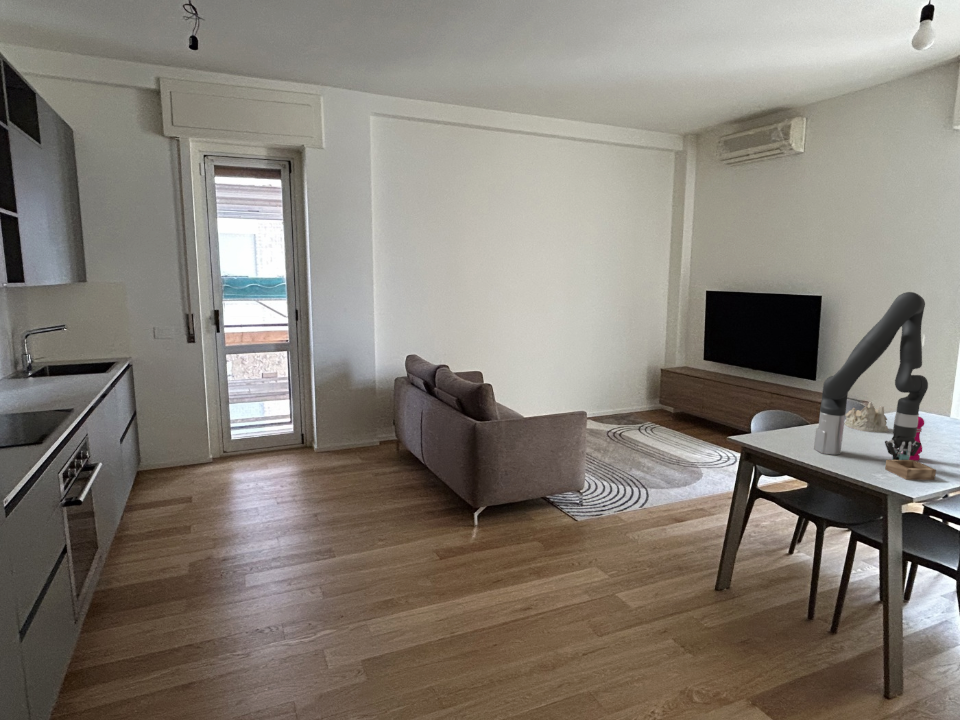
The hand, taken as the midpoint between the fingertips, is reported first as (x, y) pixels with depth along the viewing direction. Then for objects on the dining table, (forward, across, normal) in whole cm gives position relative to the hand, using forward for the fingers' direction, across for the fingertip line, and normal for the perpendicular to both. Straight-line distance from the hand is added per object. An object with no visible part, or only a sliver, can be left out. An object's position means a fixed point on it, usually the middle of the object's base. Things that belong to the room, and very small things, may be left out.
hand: (899, 465), depth 229 cm
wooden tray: (+1, -3, -9) cm, 10 cm away
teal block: (+1, 0, 0) cm, 1 cm away
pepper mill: (+1, +12, +10) cm, 16 cm away
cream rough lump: (+1, +25, +56) cm, 61 cm away
